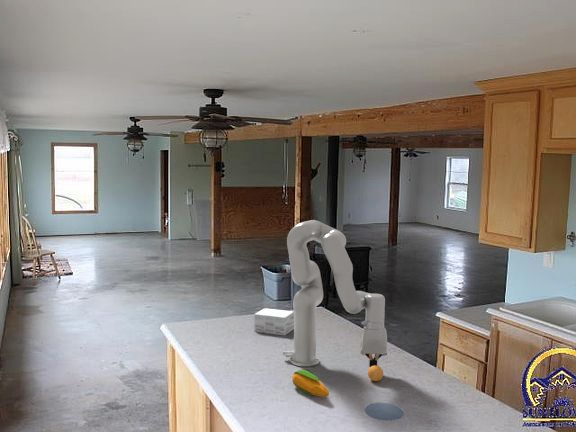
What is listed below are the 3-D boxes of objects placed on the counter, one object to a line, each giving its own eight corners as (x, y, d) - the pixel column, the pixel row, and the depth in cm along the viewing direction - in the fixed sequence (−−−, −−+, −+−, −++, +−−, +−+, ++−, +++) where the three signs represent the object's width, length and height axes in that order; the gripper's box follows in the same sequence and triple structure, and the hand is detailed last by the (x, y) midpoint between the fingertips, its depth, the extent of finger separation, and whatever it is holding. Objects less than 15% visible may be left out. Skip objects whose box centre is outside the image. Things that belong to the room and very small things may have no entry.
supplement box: (294, 328, 280) (294, 311, 280) (285, 336, 268) (285, 317, 267) (264, 324, 286) (264, 307, 286) (253, 331, 274) (254, 313, 273)
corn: (302, 363, 210) (337, 380, 194) (303, 381, 211) (337, 400, 195) (287, 368, 206) (320, 386, 189) (287, 387, 206) (321, 406, 190)
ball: (368, 383, 211) (368, 368, 210) (366, 377, 217) (367, 362, 216) (383, 384, 210) (384, 368, 210) (382, 378, 216) (382, 363, 216)
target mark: (366, 419, 181) (366, 418, 181) (363, 402, 193) (363, 401, 193) (406, 420, 180) (406, 420, 180) (400, 403, 193) (400, 403, 193)
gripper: (356, 326, 217) (355, 371, 219) (394, 328, 217) (392, 372, 218) (355, 321, 224) (353, 364, 226) (391, 322, 224) (390, 366, 226)
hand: (373, 368), depth 222 cm, fingers closed
